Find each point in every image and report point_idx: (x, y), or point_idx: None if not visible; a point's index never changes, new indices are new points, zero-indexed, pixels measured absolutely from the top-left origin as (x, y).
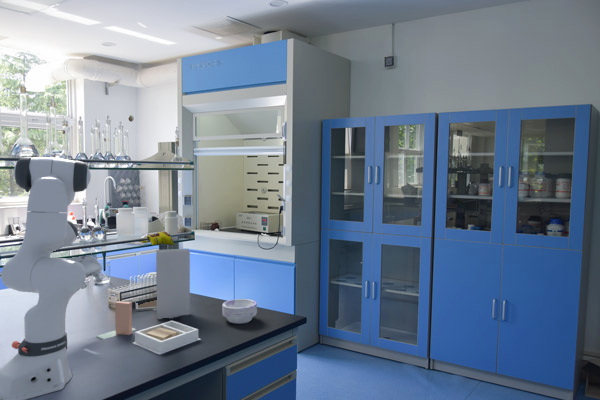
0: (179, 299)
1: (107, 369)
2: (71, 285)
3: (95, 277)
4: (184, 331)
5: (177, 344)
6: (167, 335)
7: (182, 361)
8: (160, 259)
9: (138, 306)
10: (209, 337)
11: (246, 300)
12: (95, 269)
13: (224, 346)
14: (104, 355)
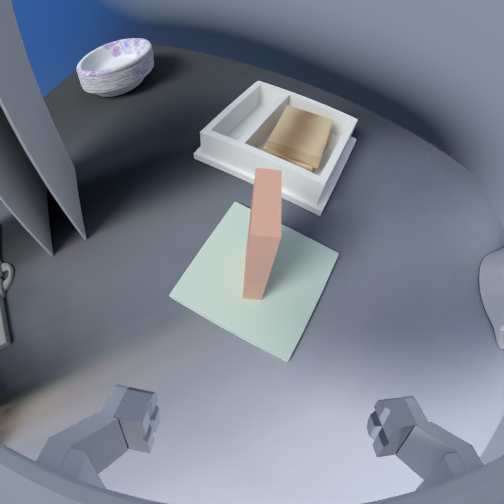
0: (56, 146)
1: (439, 212)
2: None
3: (100, 469)
4: (240, 113)
5: None
6: (316, 115)
7: (351, 111)
8: None
9: None
10: (224, 95)
11: (88, 57)
12: (57, 487)
13: (265, 75)
14: (397, 253)
